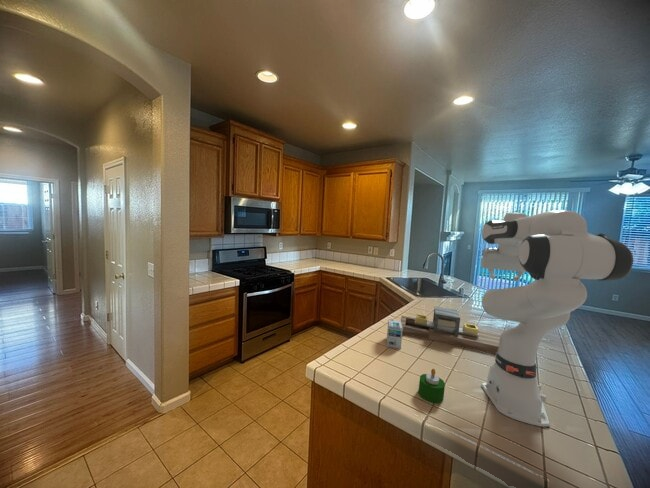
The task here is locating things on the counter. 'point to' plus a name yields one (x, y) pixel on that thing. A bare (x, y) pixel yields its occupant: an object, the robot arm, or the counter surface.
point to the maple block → (446, 322)
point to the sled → (467, 328)
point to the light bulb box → (394, 333)
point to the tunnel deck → (483, 342)
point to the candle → (431, 387)
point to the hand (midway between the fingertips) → (504, 279)
